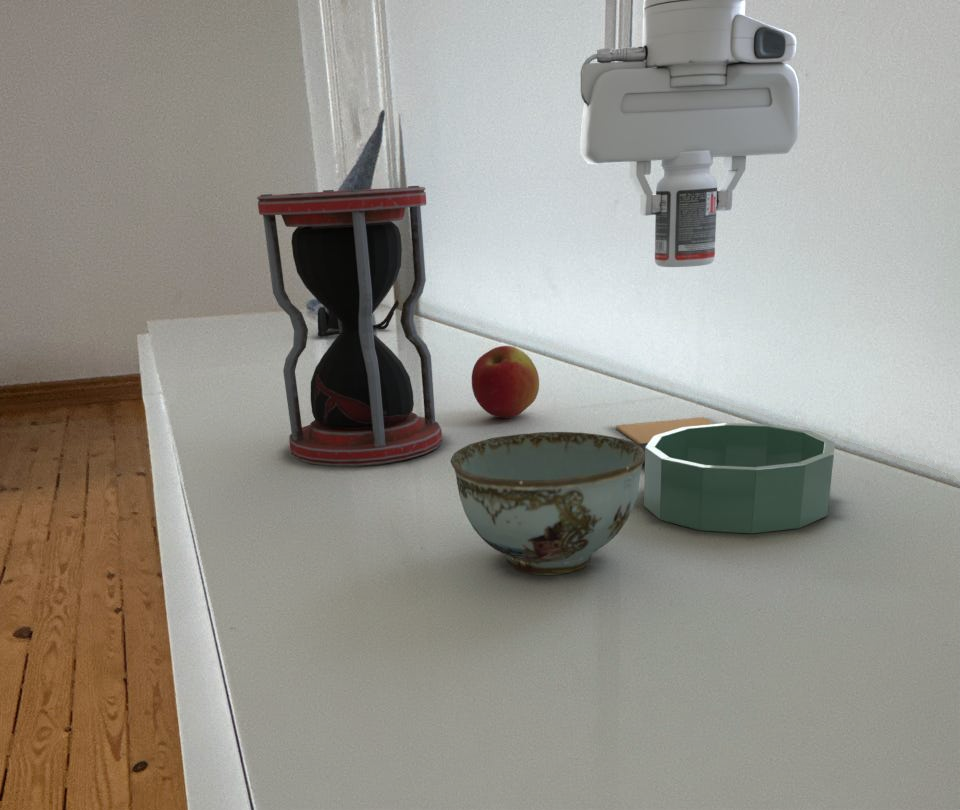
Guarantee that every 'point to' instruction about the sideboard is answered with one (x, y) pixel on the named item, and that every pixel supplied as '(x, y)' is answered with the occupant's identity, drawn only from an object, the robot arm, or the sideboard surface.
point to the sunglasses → (331, 322)
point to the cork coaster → (657, 428)
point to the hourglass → (353, 324)
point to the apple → (505, 381)
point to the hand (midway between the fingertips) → (686, 212)
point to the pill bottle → (686, 211)
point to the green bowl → (738, 477)
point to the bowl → (548, 495)
